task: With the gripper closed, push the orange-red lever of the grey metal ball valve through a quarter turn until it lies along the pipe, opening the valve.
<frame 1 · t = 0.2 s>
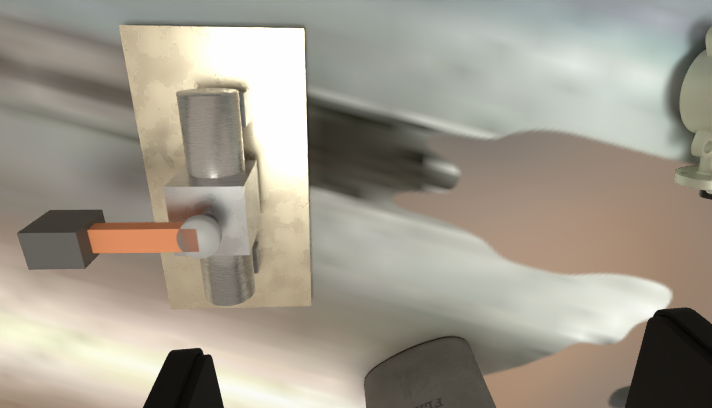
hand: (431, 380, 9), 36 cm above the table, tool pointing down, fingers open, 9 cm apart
valve lever: (131, 237, 34), point 13 cm above the table, hinge at -90.0°
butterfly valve: (698, 106, 46), on the table
flask: (414, 362, 57), on the table
ball valve: (232, 180, 45), on the table
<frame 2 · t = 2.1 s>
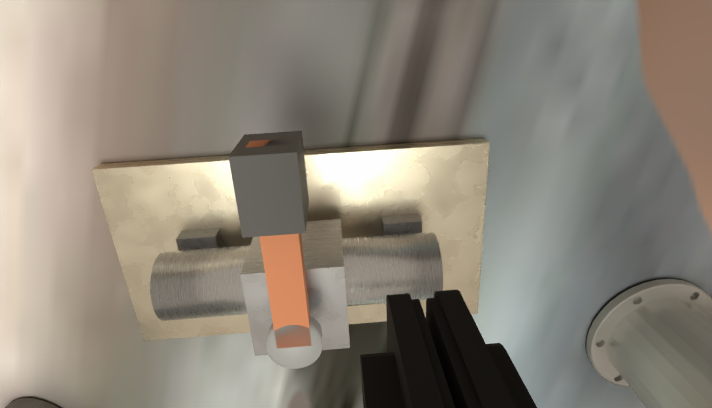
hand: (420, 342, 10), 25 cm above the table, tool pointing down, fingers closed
valve lever: (284, 264, 24), point 13 cm above the table, hinge at -90.0°
ball valve: (305, 240, 37), on the table
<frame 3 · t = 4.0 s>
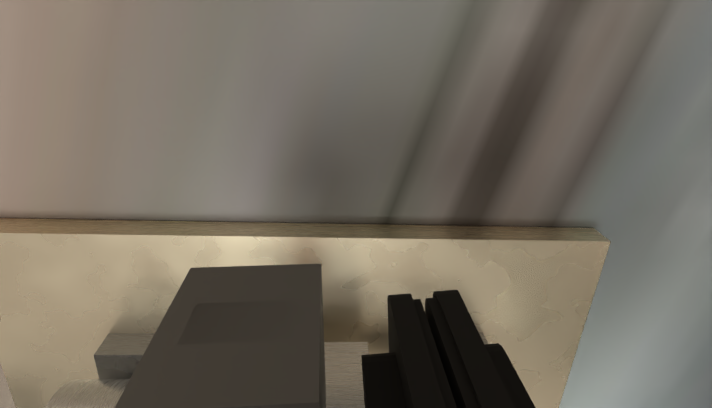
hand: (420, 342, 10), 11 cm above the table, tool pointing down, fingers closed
ball valve: (303, 350, 24), on the table
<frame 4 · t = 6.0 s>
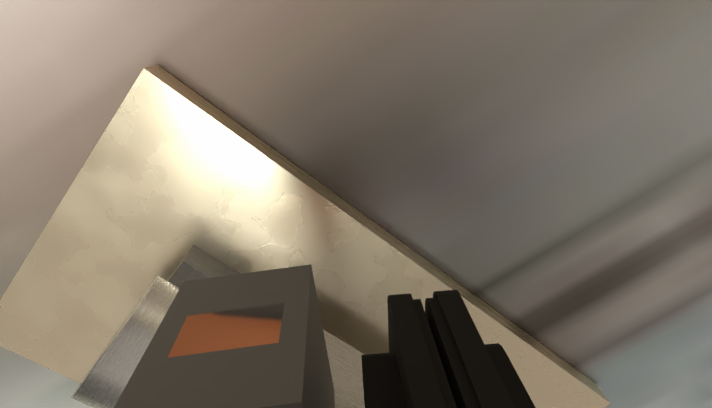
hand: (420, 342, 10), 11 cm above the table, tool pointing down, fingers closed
ball valve: (324, 353, 25), on the table
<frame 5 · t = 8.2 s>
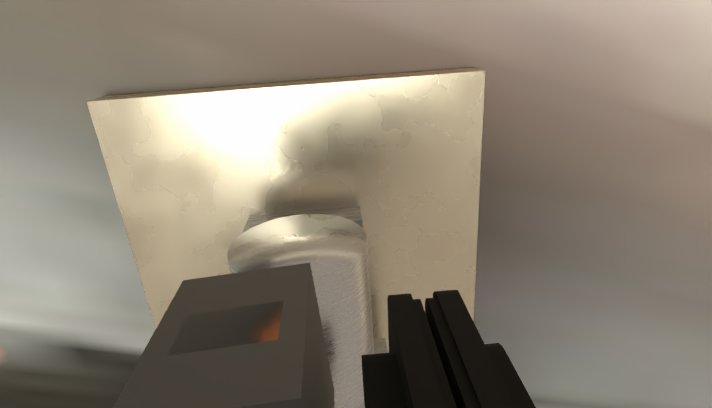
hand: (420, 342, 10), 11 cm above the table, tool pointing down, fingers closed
ball valve: (324, 352, 25), on the table
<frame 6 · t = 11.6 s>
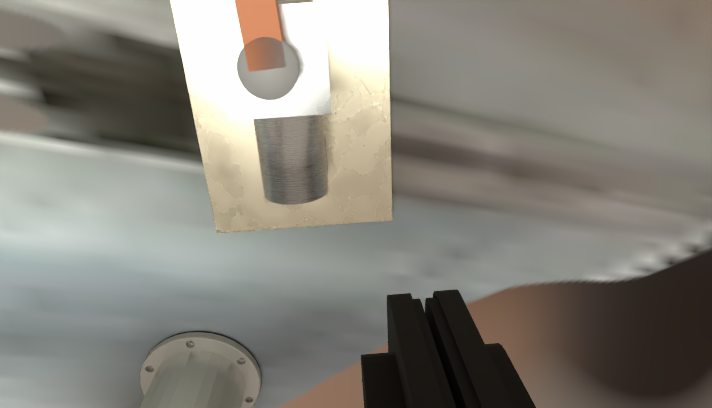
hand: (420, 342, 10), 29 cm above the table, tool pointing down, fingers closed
ball valve: (288, 52, 35), on the table
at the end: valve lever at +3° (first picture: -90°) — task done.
